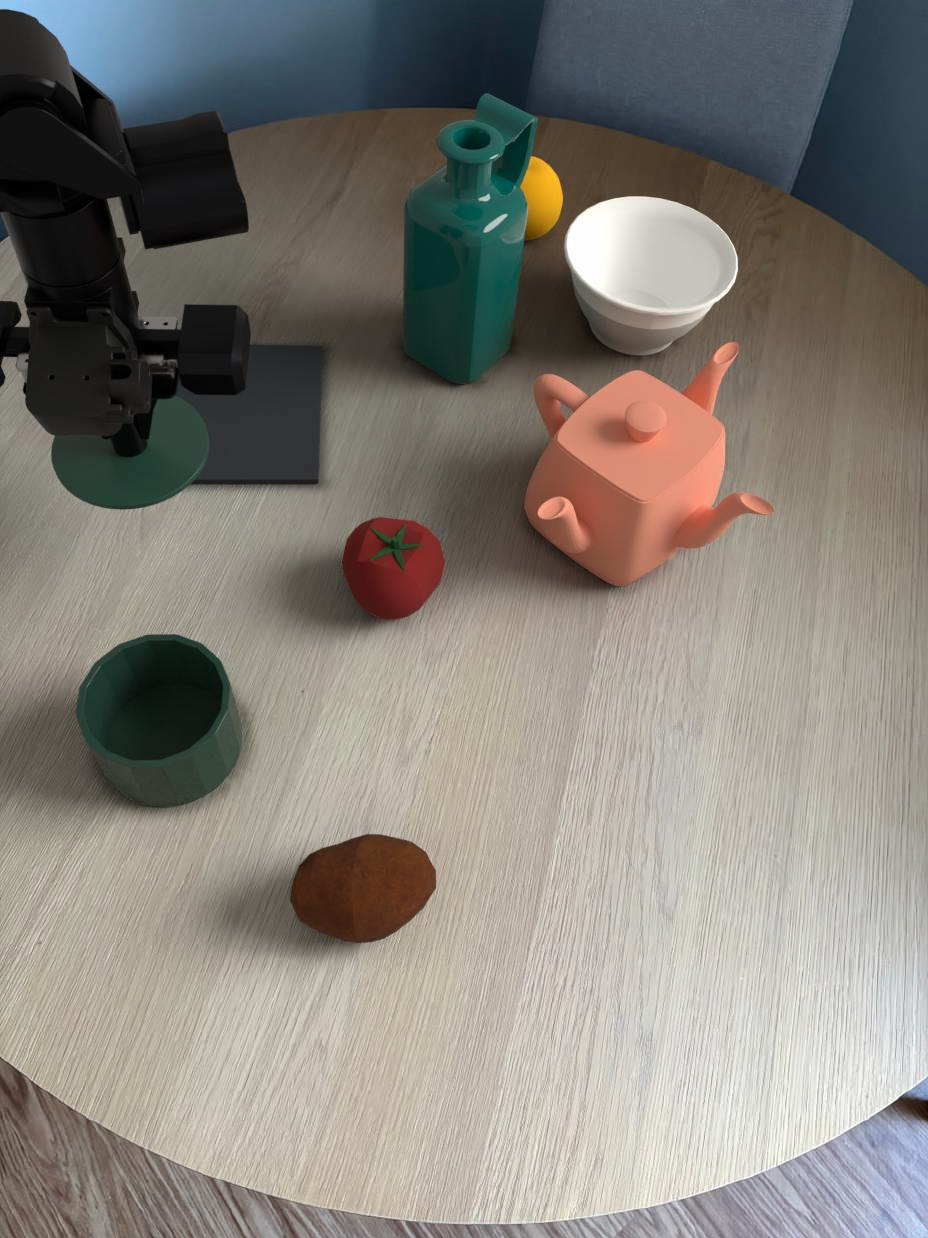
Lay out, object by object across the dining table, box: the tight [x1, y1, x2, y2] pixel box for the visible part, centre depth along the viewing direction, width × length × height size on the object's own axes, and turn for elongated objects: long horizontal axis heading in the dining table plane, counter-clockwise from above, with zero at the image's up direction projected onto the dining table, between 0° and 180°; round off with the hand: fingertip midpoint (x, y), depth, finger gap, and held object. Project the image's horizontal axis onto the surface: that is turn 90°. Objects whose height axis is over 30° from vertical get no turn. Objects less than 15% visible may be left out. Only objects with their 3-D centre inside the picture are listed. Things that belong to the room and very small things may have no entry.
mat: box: [175, 344, 324, 485], centre depth 93 cm, size 18×16×1 cm
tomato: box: [340, 516, 446, 621], centre depth 81 cm, size 8×8×7 cm
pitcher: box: [402, 92, 539, 385], centre depth 90 cm, size 10×8×22 cm
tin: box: [75, 633, 243, 808], centre depth 73 cm, size 10×10×7 cm
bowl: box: [563, 195, 739, 356], centre depth 99 cm, size 16×16×9 cm
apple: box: [520, 155, 564, 241], centre depth 106 cm, size 8×8×8 cm
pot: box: [524, 341, 775, 587], centre depth 84 cm, size 18×17×12 cm
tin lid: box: [50, 396, 209, 511], centre depth 74 cm, size 11×11×6 cm
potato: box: [289, 833, 437, 944], centre depth 68 cm, size 7×9×6 cm
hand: (127, 434), depth 74 cm, fingers closed on tin lid, 2 cm apart
